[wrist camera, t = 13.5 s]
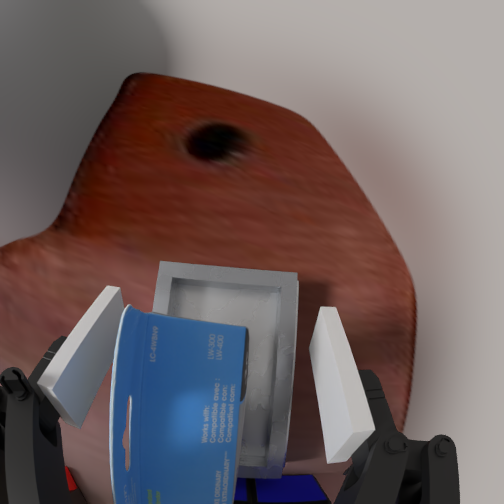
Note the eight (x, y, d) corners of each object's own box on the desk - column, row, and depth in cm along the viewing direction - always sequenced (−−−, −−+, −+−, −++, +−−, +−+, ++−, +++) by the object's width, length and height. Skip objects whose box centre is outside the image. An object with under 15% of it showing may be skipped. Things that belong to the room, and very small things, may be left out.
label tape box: (240, 453, 15) (240, 569, 4) (181, 446, 15) (115, 544, 4) (250, 335, 18) (266, 314, 7) (191, 329, 18) (113, 295, 7)
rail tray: (149, 447, 16) (136, 460, 13) (164, 272, 20) (153, 260, 18) (282, 462, 16) (289, 478, 13) (296, 283, 21) (304, 273, 18)
